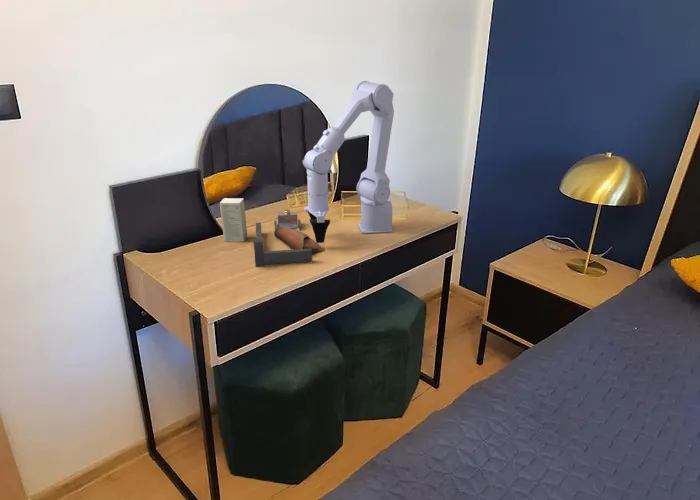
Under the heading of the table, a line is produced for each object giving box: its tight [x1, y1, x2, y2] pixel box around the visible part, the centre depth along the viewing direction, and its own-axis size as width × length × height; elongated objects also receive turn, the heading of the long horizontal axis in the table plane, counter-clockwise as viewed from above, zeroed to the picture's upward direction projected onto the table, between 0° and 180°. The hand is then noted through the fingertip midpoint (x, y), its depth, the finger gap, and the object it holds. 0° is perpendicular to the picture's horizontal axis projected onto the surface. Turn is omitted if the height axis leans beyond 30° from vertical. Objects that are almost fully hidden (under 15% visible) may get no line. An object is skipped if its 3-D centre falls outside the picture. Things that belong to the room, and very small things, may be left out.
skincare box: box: [219, 197, 248, 242], centre depth 167 cm, size 6×4×12 cm
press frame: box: [253, 219, 313, 268], centre depth 165 cm, size 15×31×7 cm, turn 9°
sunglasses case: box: [273, 226, 326, 256], centre depth 165 cm, size 18×7×7 cm
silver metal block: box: [277, 209, 299, 229], centre depth 177 cm, size 6×3×5 cm, turn 99°
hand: (318, 237), depth 166 cm, fingers open, 7 cm apart
